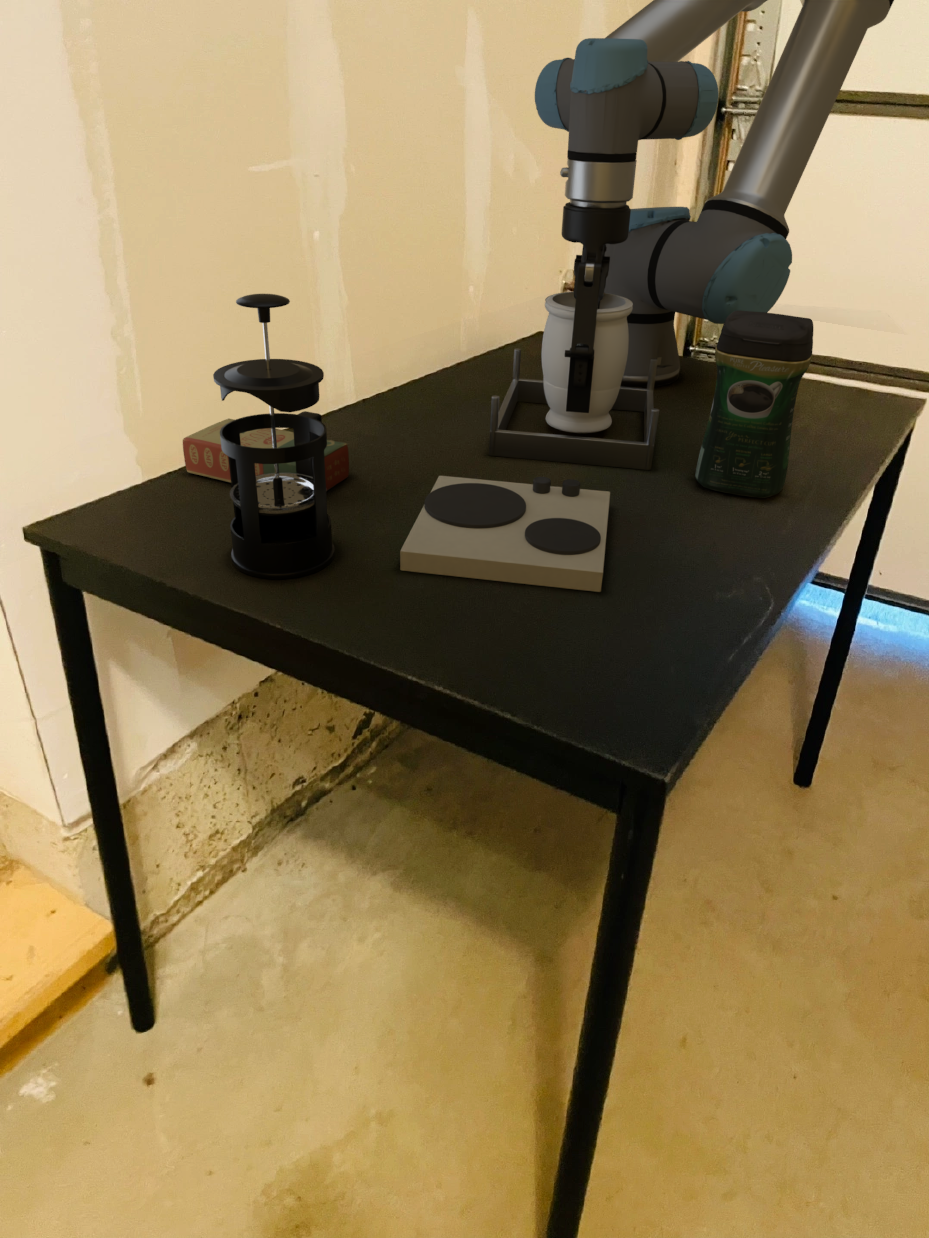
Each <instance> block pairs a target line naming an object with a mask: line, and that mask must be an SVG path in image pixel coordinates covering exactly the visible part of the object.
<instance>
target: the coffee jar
mask: <svg viewBox="0 0 929 1238" xmlns="http://www.w3.org/2000/svg"><path fill="white" fill-rule="evenodd" d="M813 348H814V321H813V319H811V318H810V317H803V316H795V315H788V314H781V313H775V312H774V313H773V312H767V313H765V312H752V311H738V310H737V311H734V312H732V313H731V314H730V315H729V316H728V317H727V318H726V320H725V322H724V324H722V327H721V330H720V334H719V337H718V339H717V343H716V346H715V350H714V360H715V365H716V381H715V387H714V388H715V389H714V394H713V399H712V404H711V409H710V413H709V417H708V421H707V425H706V427H705V432H704V434H703V439H702V442H701V446H700V450H699V454H698V459H697V462H696V468H695V477H694V478H695V480H696V481H697V483H698V484H700V485H701V487H703V488H705V489H707V490H711V491H715V492H721V493H724V494H725V493H726V494H731V495H736V496H743V497H751V498H759V499H762V498H763V499H764V498H765V499H766V498H770V497H772V496H775V495H778V494H779V493H780V492H781V491H782V490H783V488H784V486H785V483H786V478H787V473H788V467H789V461H790V459H789V458H790V451H791V450H790V449H791V437H792V429H793V423H794V422H793V420H794V413H795V407H796V403H797V402H796V401H797V396H798V391H799V387H800V383H801V380H802V379H803V377H804V375H805V374H806V372H807V371H808V369H809V368H810V366H811V362H812V358H813Z"/></svg>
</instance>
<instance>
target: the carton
mask: <svg viewBox="0 0 929 1238" xmlns="http://www.w3.org/2000/svg"><path fill="white" fill-rule="evenodd" d="M233 420H235V419H233V418H227V419H223V420H221V421H219V422H216V423H214V424H211V425H209V426H207V427H205V428H201V429H200V430H198V431H196V432H194V433H192V434H190V435H187V436H185V437H183V439H182V451H183V460H184V465H185V469H186V472H187V473H190V474H194V475H199V476H203V477H207V478H209V479H210V478H211V479H215V480H219V481H223V482H227V483H231V478H230V469H229V459H228V456H227V455H226V454H224V452H223V451H222V448H221V439H220V430H221V428H222V427H223V426H224V425H225V424H227V423H229V422H231V421H233ZM276 440H277V448H284V447H291V446H294V432H293V431H289V430H284V429H282V428H276ZM240 441H241V445H242V446H247V447H254V448H273V444H272V432H271V428H265V429H257V430H252V431H247V432H244V433H240ZM349 454H350V453H349V446H348V443H346V442H341V441H336V440H333V439H327V447H326V448H325V450H324V458H325V477H326V492H327V491H329V490H331V489H332V488H333V487H335V486H336V485H338V484H340V483H341V482H343V481H344V480H345V479H347V478H348V477H349V475H350V455H349ZM254 464H255V475H256V476H258V475H263V474H269V473H275V468H274V464H257V463H254ZM278 465H279V473H296V462H290V463H281V464H278Z"/></svg>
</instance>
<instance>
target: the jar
mask: <svg viewBox="0 0 929 1238" xmlns="http://www.w3.org/2000/svg"><path fill="white" fill-rule="evenodd" d="M544 301H545V302H544V308H545V310H546V311H547V312H548V315H547V318H546V320H545V324H544V330H543V335H542V341H541V354H540V355H541V369H542V370H541V371H542V377H543V378H542V380H543V383H544V392H545V397H546V400H547V403H548V404H547V406H548V407H549V410H548V411H547V413H546V415H545V422H546V423H547V425H549V427H551V428H553V429H556V430H559V431H561V432H565V433H570V434H594V433H599V432H602V431H605V430H607V429H609V428H610V427H611V426H612V424H613V423H612V422H613V420H612V417H611V414H610V411H611V410H612V409H611V408H612V407H613V405H614V403H615V401H616V399H617V396H618V393H619V389H620V385H621V381H622V378H623V375H624V371H625V367H626V362H627V356H628V344H629V333H628V323H627V316H628V315H629V314H630V313H631V312H632V308H633V307H632V305H633V303H632V301H630V300H629V299H627V298H624V297H621V296H618V295H613V294H607V293H604V297H603V299H602V300H601V301H600V307H599V309H597V316H596V330H595V340H594V364H593V375H592V385H591V396H590V407H589V413H580V412H567V411H566V404H567V391H568V379H569V366H570V357H565V350H570V348H571V345H572V334H573V324H574V313H575V303H576V299H575V298H574V291H565V292H564V291H563V292H558V293H554V294H551V295H548V296H547V297H545V300H544ZM577 345H580V346H588V345H587V344H577Z"/></svg>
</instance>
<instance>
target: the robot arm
mask: <svg viewBox="0 0 929 1238" xmlns="http://www.w3.org/2000/svg"><path fill="white" fill-rule="evenodd" d="M766 2H768V0H651V1H650V2H649V3H647V5H645V6H644V7H642V8H641V9H640V10H639V11H638V12H636V13H635V14H633V15H632V16H631V17H630V18H628V19H627V20H626V21H625V22H624V23H621V25H619V26H618V27H617V28H616V29H614V30H613V31H612V32H610V33H609V34H608V35H607V36H605V37H590V38H584V39H582V40H581V41H580V42H579V43H578V44H577V45H576V49H575V54H574V58H571V57H563V58H561V59H555V60H554V59H553V60H552V61H549V62H548V63H547V64H546V65H545V66H544V67H543V68H542V69H541V71H540V73H539V75H538V77H537V80H536V82H535V87H534V102H535V103H534V104H535V110H536V112H537V115H538V116H539V118H540V120H541V121H542V123H544V125H546V126H547V127H550V128H551V129H552V128H553V129H559V130H564V131H566V132H568V138H567V141H568V142H567V153H566V155H567V158H566V159H567V160H566V165H567V167H561V169H560V171H559V175H560V177H561V178H567V180H566V181H565V186H564V197H565V198H567V200H569V202H566V203H565V204H564V205H563V208H562V220H561V237H562V238H563V240H565V241H567V242H570V243H575V244H576V243H579V244H581V245H582V249H581V254H575V258H574V264H573V276H574V283H573V292H574V298H575V299H576V303H575V313H574V324H573V334H572V345H571V348H570V350H565V357H570V366H569V379H568V391H567V404H566V411H567V412H580V413H589V407H590V396H591V385H592V375H593V364H594V340H595V330H596V316H597V309H599V307H600V301H601V300H602V299H603V297H604V293H607V294H613V295H618V296H621V297H624V298H627V299H629V300H630V301H632V303H633V305H632V307H633V308H632V312H631V313H630V314H629V315H628V316H627V323H628V333H629V344H628V356H627V362H626V367H625V371H624V375H623V378H622V381H621V385H620V386H621V387H634V388H647V384H648V376H649V369H650V361H651V359H658V362H657V369H656V376H655V383H654V388H655V387H660V386H666V385H669V384H672V383H674V382H676V381H677V380H678V379H679V376H680V369H681V360H680V355H679V347H678V343H677V336H676V330H675V318H676V313H678V314H682V315H686V316H690V317H692V318H697V319H701V320H705V321H709V322H710V323H712V324H714V325H715V324H716V325H724V322H725V320H726V318H727V317H728V316H729V315H730V314H731V313H732V312H734V311H737V310H738V311H752V312H765V313H769V311H770V310H772V308H774V306H775V304H776V303H777V302H778V300H779V299H780V298H781V296H782V294H783V292H784V290H785V288H786V286H787V283H788V281H789V278H790V275H791V269H790V266H791V265H792V264H793V251H792V248H791V244H790V242H789V241H788V240H787V238H788V236H789V235H790V228H789V225H788V222H787V220H786V217H785V214H786V212H787V211H788V210H787V209H788V208H789V205H790V204H791V200H792V199H793V197H794V194H795V192H796V189H797V187H798V186H799V183H800V181H801V178H802V176H803V175H804V172H805V169H806V168H807V165H808V163H809V161H810V159H811V157H812V154H813V152H814V150H815V147H816V145H817V142H818V141H819V138H820V136H821V134H822V131H823V129H824V127H825V125H826V123H827V120H828V118H829V116H830V114H831V112H832V109H833V107H834V105H835V103H836V100H837V98H838V96H839V94H840V91H841V90H842V87H843V85H844V83H845V80H846V78H847V76H848V74H849V71H850V69H851V67H852V65H853V62H854V60H855V58H856V56H857V54H858V52H859V49H860V47H861V44H862V43H863V40H864V39H865V36H866V34H867V31H868V29H870V28H873V27H874V26H877V25H879V24H881V23H882V22H884V20H886V18H887V17H888V15H889V12H890V10H891V8H892V6H893V4H894V2H895V0H799V2H800V3H801V9H800V11H799V13H798V14H797V15H798V16H797V18H796V21H794V22H795V23H794V25H793V27H792V29H791V32H790V34H789V37H788V39H787V41H786V43H785V46H784V48H783V50H782V53H781V55H780V57H779V60H778V62H777V64H776V66H775V69H774V71H773V74H772V76H771V78H770V80H769V83H768V84H767V87H766V89H765V92H764V94H763V96H762V99H761V100H760V103H759V105H758V108H757V110H756V113H755V115H754V117H753V120H752V123H751V124H750V127H749V129H748V131H747V133H746V136H745V138H744V141H743V143H742V145H741V147H740V149H739V152H738V154H737V157H736V159H735V161H734V164H733V166H732V169H731V170H730V173H729V175H728V177H727V180H726V182H725V184H724V186H723V189H722V191H721V192H720V193H718V194H716V195H713V196H711V197H710V198H707V199H706V200H705V202H704V203H703V207H702V208H701V211H700V213H699V215H698V217H697V220H696V221H693V220H691V217H692V216H691V211H690V209H689V207H688V206H656V207H640V208H639V207H638V208H630V206H629V204H627V203H628V202H630V201H631V200H633V198H634V191H635V190H634V189H635V180H636V171H637V170H636V169H637V155H638V154H637V153H638V147H639V141H642V140H643V141H644V140H676V141H680V140H683V139H684V138H690V137H694V136H697V135H699V134H701V133H702V132H703V131H704V130H706V129H707V127H708V126H709V125H710V124H711V122H712V121H713V119H714V116H715V115H716V112H717V109H718V103H719V85H718V81H717V79H716V76H715V75H714V73H713V72H712V70H710V69H709V67H707V66H706V65H704V64H701V63H698V62H697V63H696V62H692V61H690V60H685V61H683V60H682V59H684V58H685V57H686V56H688V54H690V53H691V52H692V51H693V50H695V49H696V48H698V47H699V46H700V45H701V44H702V43H703V42H705V41H706V40H707V39H708V38H710V36H712V35H713V34H714V33H716V32H717V31H718V30H720V29H721V28H722V27H723V26H724V25H726V24H727V23H728V22H730V21H731V20H732V19H733V18H734V17H736V16H737V15H739V13H741V12H742V13H745V12H747V13H749V12H752V11H754V10H757V9H758V8H760V7H761V6H763V4H764V3H766ZM577 344H587V345H588V346H580V345H577Z"/></svg>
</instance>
